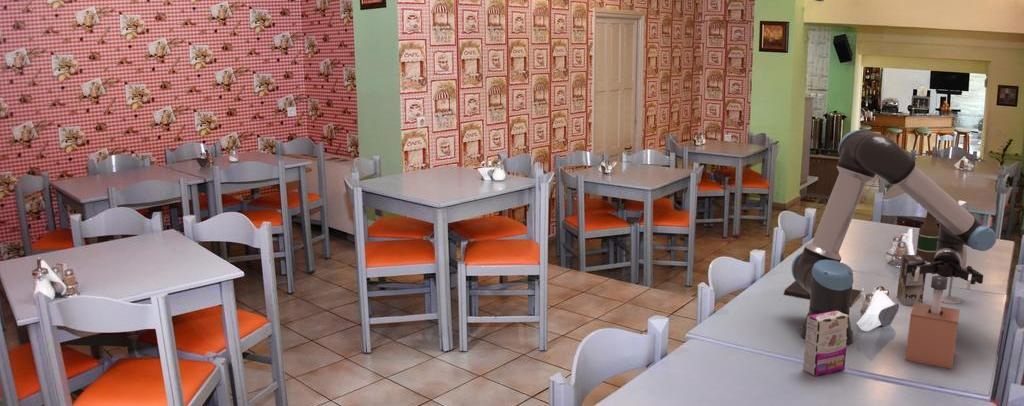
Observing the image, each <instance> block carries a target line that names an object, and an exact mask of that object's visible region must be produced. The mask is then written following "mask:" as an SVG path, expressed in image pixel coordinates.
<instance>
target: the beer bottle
mask: <svg viewBox="0 0 1024 406" xmlns="http://www.w3.org/2000/svg"><path fill="white" fill-rule="evenodd" d="M938 235H939V226H938V224H937V219H936V218H935V217H934V216H932V215H931V214H930V213H929V212H928V211H927V210H926V216H925V220H924V222H923V223H922V224H921V226H920V227H919V229H918V235H917V245H916V251H915V255H920V256H921V257H922V258H923V259H925V260H926V261H927V262H928V263H931V262H933V261H934V258H935V255H936V250H937V242H938Z"/></svg>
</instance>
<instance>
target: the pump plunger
mask: <svg viewBox="0 0 1024 406" xmlns="http://www.w3.org/2000/svg"><path fill="white" fill-rule="evenodd" d="M948 279H949V277H943V276H940V275H932V276H931V283H930V288H932V289H933V294H932V300H931V301H932V302H931V305H932V307H931V313H934V314H940V311H941V307H942V303H943V302H942V297H943V295H944V291H945V290H947V288H948V281H949V280H948Z"/></svg>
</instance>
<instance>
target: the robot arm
mask: <svg viewBox="0 0 1024 406" xmlns="http://www.w3.org/2000/svg"><path fill="white" fill-rule="evenodd" d="M837 148H838V149H837V150H838V151H837V152H838V155H839V159H838V161H837V164H836V168H837V171H838V175H837V178H836V180H835V184H834V186H833V188H832V191H831V193H830V196H829V198H828V200H827V203H826V206H825V208H824V210H823V214H822V216H821V218H820V221H819V224H818V226H817V229H816V231H815V234H814V236H813V238H812V241H811V242H810V243H807V244H806V245H805V246H804V248H803V251H802V252H801V253H799V254H797V255H796V256H795V257H794V259H793V261H792V264H791V274H792V277H793V279H794V281H796V282H797V283H798V284H799V285H800V286H801V287H802V288H804V289H805V290H806V291H807V292H809V293H810V300H809V307H808V311H807V314H806V317H805V318H804V321H803V324H802V325H801V328H800V330H801V331H800V336H801V337H802V338H804V339H805V340H806V325H807V316H810V315H816V314H821V313H826V312H832V311H840V312H842V313H844V314H847V315H849V316H850V312H851V311H850V310H851V309H850V308H851V307H850V302H851V294H852V289H853V284H854V272H853V269H852V268H851V267H850V266H849V265H848V264H846V263H845V262H841V261H842V256H841V254H840V249H841V247H842V244H843V242H844V240H845V238H846V234H847V232H848V229H849V228H850V224H851V223H852V220H853V218H854V216H855V215H854V214H855V212H856V210H857V207H858V205H859V202H860V200H861V197H862V195H863V192H864V190H865V188H866V185H867V183H868V182H869V181H872V180H874V179H875V177H876V176H879V177H880V178H882V179H884V180H885V182H887V183H888V184H890V186H891V185H892V186H897V187H898V188H900V189H901V190H902V191H903V192H904V193H905V194H907V195H908V196H909V197H910V198H911V199H912V200H914V202H916V203H918V204H919V205H920V207H922V208H923V209H924V210H926V212H927V211H928V212H929V213H930V214H931V215H932V216H934V217H935V218H936V221H939V226H938V227H939V235H938V242H937V250H936V255H935V258H934V261H933V262H928V263H927V261H926V260H921V261H919V262H915V263H911V264H907V269H906V273H912V274H911V275H912V276H913V277H914V281H917V280H918V277H919V274H926V275H927V274H931V275H937V276H943V277H946V278H950V277H952V276H953V278H959V279H962V280H964V281H966V283H967V284H966V289H967V290H970V289H971V285H976V283H977V284H981V285H982V284H983V282H984V274H982V273H981V272H979V271H977V270H975V268H973V267H972V266H971V265H966V266H965V268H962V267H961V266H960V265H961V260H962V258H963V248H964V244H965V245H966V247H967V246H968V247H969V248H970V249H973V250H976V251H979V252H985V251H989V250H990V249H991V248H993V247H994V245H995V244H996V242H997V234H996V232H995V231H994V230H993V229H992V228H990V227H989V226H988V225H984V224H983V223H981V222H980V221H979V220H978V219H977V218H975V217H974V215H972V214H971V213H970V212H969V211H968V210H967V209H966V208H964V206H963V205H961V204H960V203H959V202H957V201H956V200H955V199H954V198H953V197H951V195H949V193H947V192H946V191H945V190H944V189H942V187H941V186H939V185H938V184H937V183H935V181H934V180H933V179H932V178H930V177H929V176H928V175H927V174H925V172H924V171H922V170H921V169H920V168H918V167H917V161H916V160H915V159H914V158H913V157H912V156H910V155H909V154H908V153H907V152H906V151H905V150H904V149H903V148H902V147H901V146H900V145H899V144H898V143H897V142H896V141H894V140H893V139H891V138H890V137H888V136H887V135H884V134H881V133H876V132H873V131H871V130H867V129H855V130H851V131H850V132H848V133H846V134H845V135H844V136H842V138H841V139H840V141H839V143H838V147H837ZM853 341H854V331H853V329H852V324H851V319H850V318H849V322H848V334H847V345H846V346H848V345H850V344H852V343H853Z"/></svg>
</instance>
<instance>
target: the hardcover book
mask: <svg viewBox="0 0 1024 406" xmlns="http://www.w3.org/2000/svg"><path fill="white" fill-rule="evenodd" d="M861 293H862V290H859V289H855V288H854V289H853V288H852V294H851V302H850V308H852V304H853V305H854V304H855V302H856V301H857V300H858V299H859V297H860V296H861ZM783 295H785V296H789V297H794V298H799V299H804V300H805V299H806V300H809V301H810V293H809V292H807V291H806V290H805V289H804V288H802V287H801V286H800V285H799V284H798V283H797V282H796V280H794V281H793V282H792V283H791V284H790V285H788V286H787V287H786V288H785V289H784V291H783ZM856 299H857V300H856Z"/></svg>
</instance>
